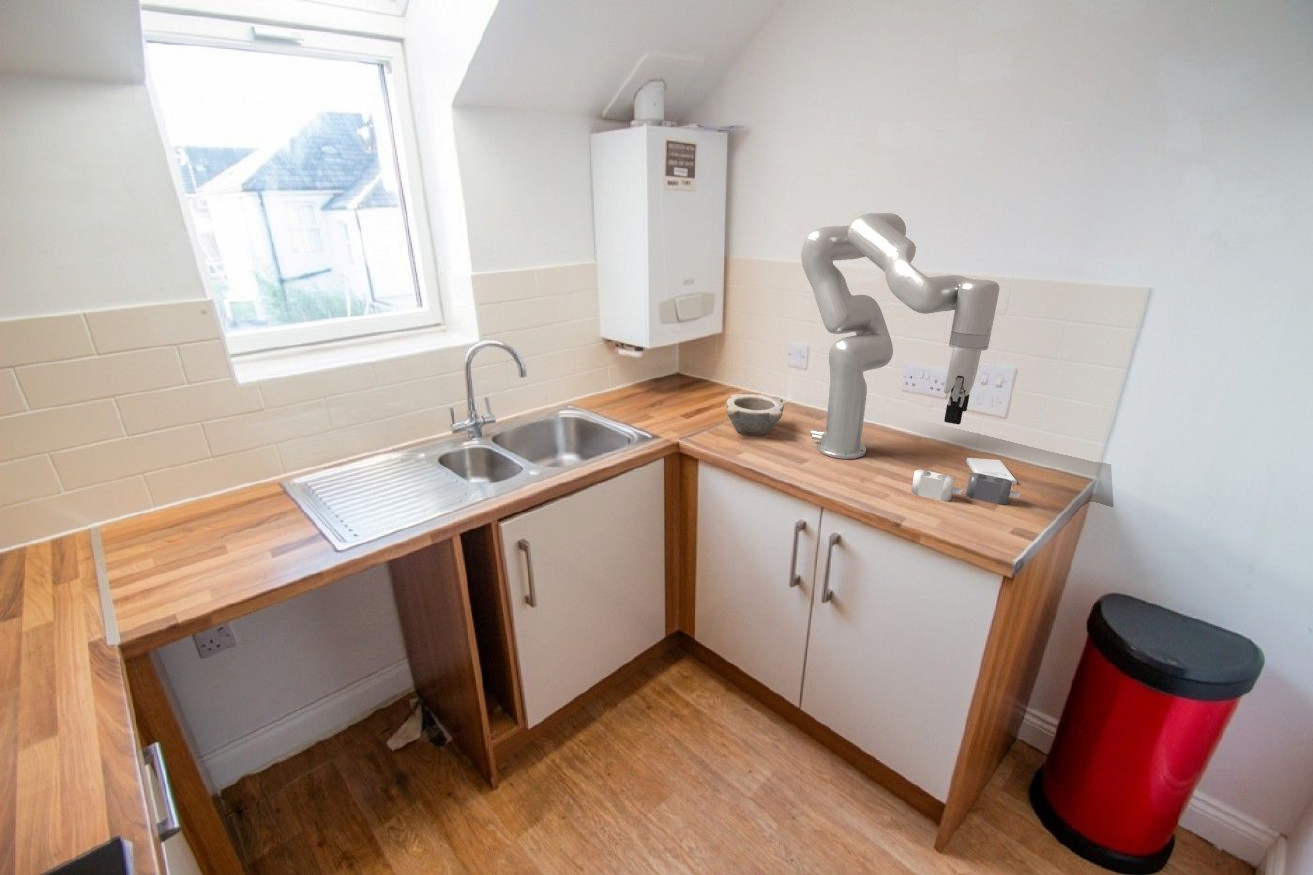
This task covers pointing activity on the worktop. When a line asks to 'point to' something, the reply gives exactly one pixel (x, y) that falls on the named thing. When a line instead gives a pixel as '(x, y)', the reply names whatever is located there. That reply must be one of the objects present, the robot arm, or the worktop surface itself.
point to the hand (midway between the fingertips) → (955, 416)
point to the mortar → (754, 413)
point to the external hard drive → (990, 468)
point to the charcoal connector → (990, 489)
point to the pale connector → (934, 485)
